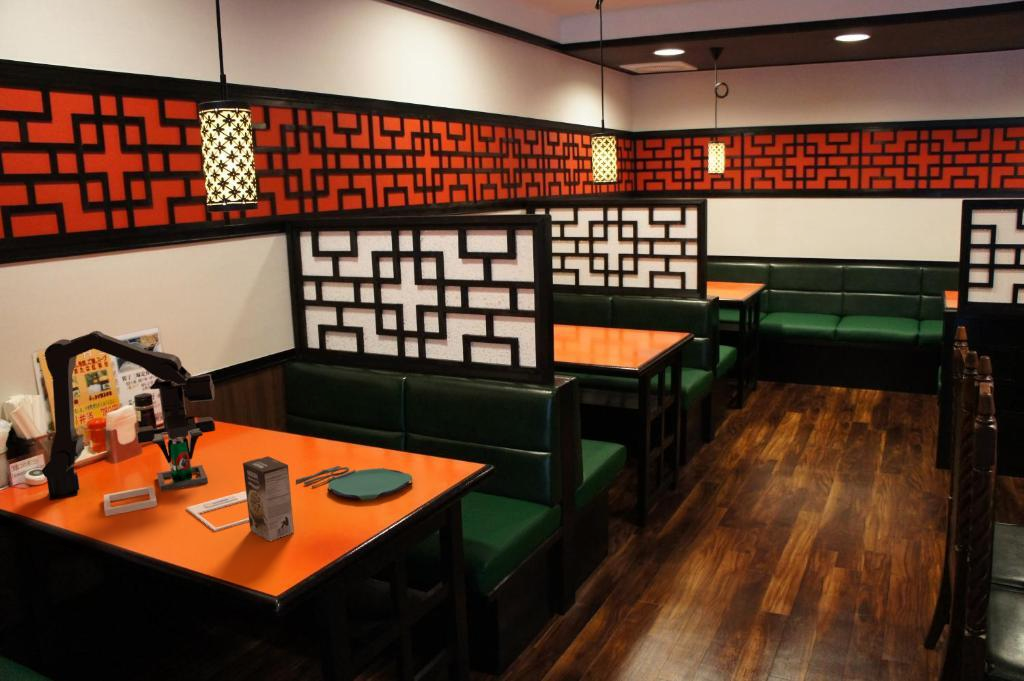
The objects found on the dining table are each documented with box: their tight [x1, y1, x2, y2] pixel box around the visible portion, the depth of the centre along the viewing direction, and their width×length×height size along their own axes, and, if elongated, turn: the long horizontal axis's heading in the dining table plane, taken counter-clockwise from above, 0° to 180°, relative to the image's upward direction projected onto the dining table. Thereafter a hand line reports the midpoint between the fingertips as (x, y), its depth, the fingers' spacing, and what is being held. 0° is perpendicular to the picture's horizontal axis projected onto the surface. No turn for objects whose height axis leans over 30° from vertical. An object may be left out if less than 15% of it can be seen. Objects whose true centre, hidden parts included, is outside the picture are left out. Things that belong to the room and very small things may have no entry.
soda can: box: [166, 437, 193, 483], centre depth 217 cm, size 5×5×12 cm
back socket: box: [156, 464, 209, 493], centre depth 218 cm, size 11×11×2 cm
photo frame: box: [185, 490, 249, 532], centre depth 196 cm, size 15×1×18 cm
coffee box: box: [242, 456, 295, 542], centre depth 182 cm, size 9×6×16 cm
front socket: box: [103, 485, 158, 517], centre depth 204 cm, size 11×11×2 cm
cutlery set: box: [295, 465, 413, 501], centre depth 211 cm, size 20×30×2 cm, turn 52°
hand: (180, 460), depth 217 cm, fingers closed on soda can, 5 cm apart
